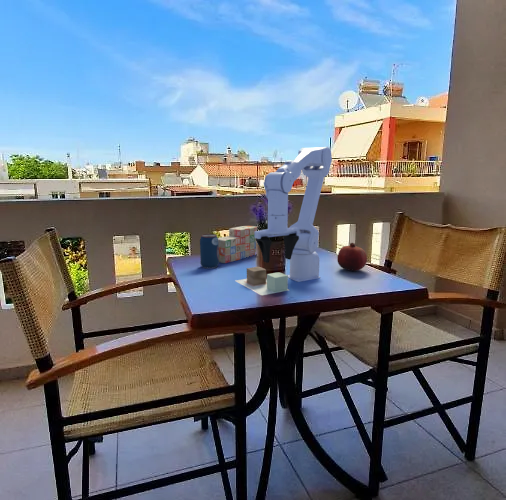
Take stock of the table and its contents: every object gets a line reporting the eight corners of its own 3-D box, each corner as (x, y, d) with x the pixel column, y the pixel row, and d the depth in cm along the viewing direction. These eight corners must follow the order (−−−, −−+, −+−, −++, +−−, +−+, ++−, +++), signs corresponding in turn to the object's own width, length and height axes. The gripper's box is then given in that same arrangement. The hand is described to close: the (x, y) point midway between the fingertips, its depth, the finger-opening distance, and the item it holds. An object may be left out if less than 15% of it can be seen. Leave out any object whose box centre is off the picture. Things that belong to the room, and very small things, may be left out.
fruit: (331, 267, 138) (332, 241, 136) (354, 265, 141) (356, 239, 139) (347, 275, 128) (348, 247, 126) (371, 273, 131) (373, 245, 129)
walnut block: (258, 279, 122) (258, 266, 121) (266, 283, 118) (266, 269, 117) (246, 281, 120) (246, 268, 119) (253, 285, 116) (253, 271, 115)
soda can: (222, 267, 140) (221, 235, 137) (206, 269, 136) (205, 237, 134) (213, 263, 146) (212, 233, 143) (197, 265, 142) (196, 234, 139)
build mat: (260, 277, 126) (260, 276, 126) (290, 291, 112) (290, 289, 112) (234, 281, 121) (234, 280, 121) (261, 296, 107) (261, 295, 107)
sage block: (279, 286, 115) (279, 272, 114) (287, 290, 111) (287, 275, 110) (266, 288, 113) (266, 274, 112) (274, 292, 109) (275, 277, 108)
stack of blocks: (225, 264, 145) (224, 232, 143) (213, 261, 149) (213, 231, 146) (259, 254, 162) (259, 226, 159) (247, 252, 165) (247, 225, 163)
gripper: (290, 211, 114) (289, 254, 117) (249, 214, 107) (249, 260, 110) (304, 214, 108) (303, 259, 111) (261, 217, 101) (261, 265, 104)
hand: (277, 260), depth 110 cm, fingers open, 7 cm apart
